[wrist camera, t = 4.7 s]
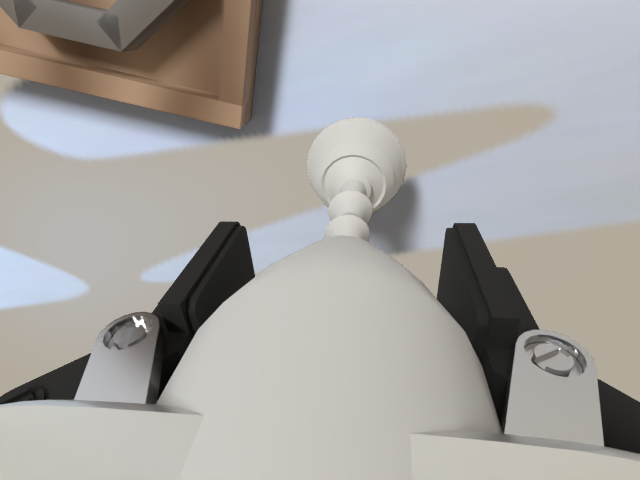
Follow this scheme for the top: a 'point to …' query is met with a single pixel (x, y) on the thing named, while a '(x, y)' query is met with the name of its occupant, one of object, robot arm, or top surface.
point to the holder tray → (140, 52)
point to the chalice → (330, 346)
